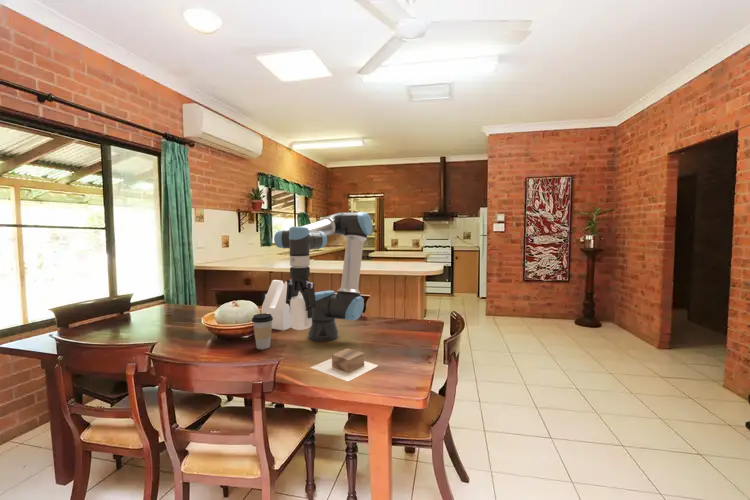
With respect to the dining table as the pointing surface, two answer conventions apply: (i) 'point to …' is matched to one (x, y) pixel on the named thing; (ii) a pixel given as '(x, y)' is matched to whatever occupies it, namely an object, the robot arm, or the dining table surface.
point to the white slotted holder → (278, 305)
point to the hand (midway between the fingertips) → (301, 323)
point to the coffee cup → (262, 330)
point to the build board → (328, 369)
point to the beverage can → (297, 313)
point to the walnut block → (348, 360)
